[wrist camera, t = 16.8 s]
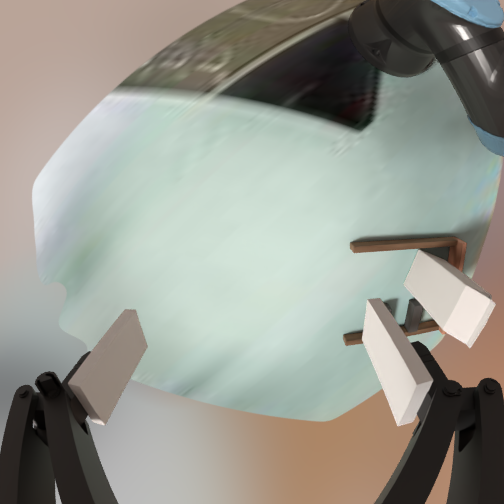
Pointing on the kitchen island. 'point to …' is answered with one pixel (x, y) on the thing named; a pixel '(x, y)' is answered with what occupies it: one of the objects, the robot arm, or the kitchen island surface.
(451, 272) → the milk carton
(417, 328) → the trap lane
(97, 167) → the kitchen island surface
